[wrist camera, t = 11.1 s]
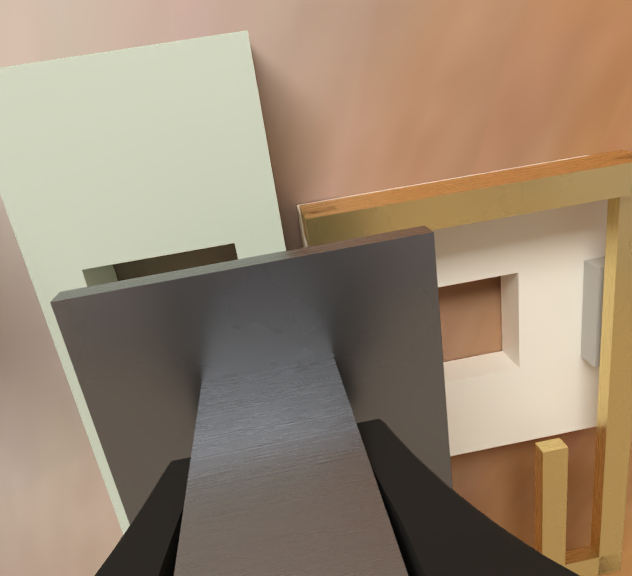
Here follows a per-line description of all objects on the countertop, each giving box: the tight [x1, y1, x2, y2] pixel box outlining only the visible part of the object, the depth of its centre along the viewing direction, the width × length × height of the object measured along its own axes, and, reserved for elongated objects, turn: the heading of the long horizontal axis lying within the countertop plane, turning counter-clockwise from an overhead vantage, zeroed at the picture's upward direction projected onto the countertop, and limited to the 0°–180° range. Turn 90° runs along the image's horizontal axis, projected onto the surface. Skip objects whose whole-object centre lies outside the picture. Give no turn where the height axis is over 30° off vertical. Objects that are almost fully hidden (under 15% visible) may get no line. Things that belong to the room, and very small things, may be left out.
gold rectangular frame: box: [299, 150, 632, 576], centre depth 20 cm, size 11×18×2 cm, turn 9°
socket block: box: [296, 155, 608, 456], centre depth 20 cm, size 11×11×2 cm
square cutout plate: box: [0, 30, 286, 535], centre depth 18 cm, size 8×16×3 cm, turn 9°
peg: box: [50, 226, 452, 576], centre depth 10 cm, size 8×8×9 cm
